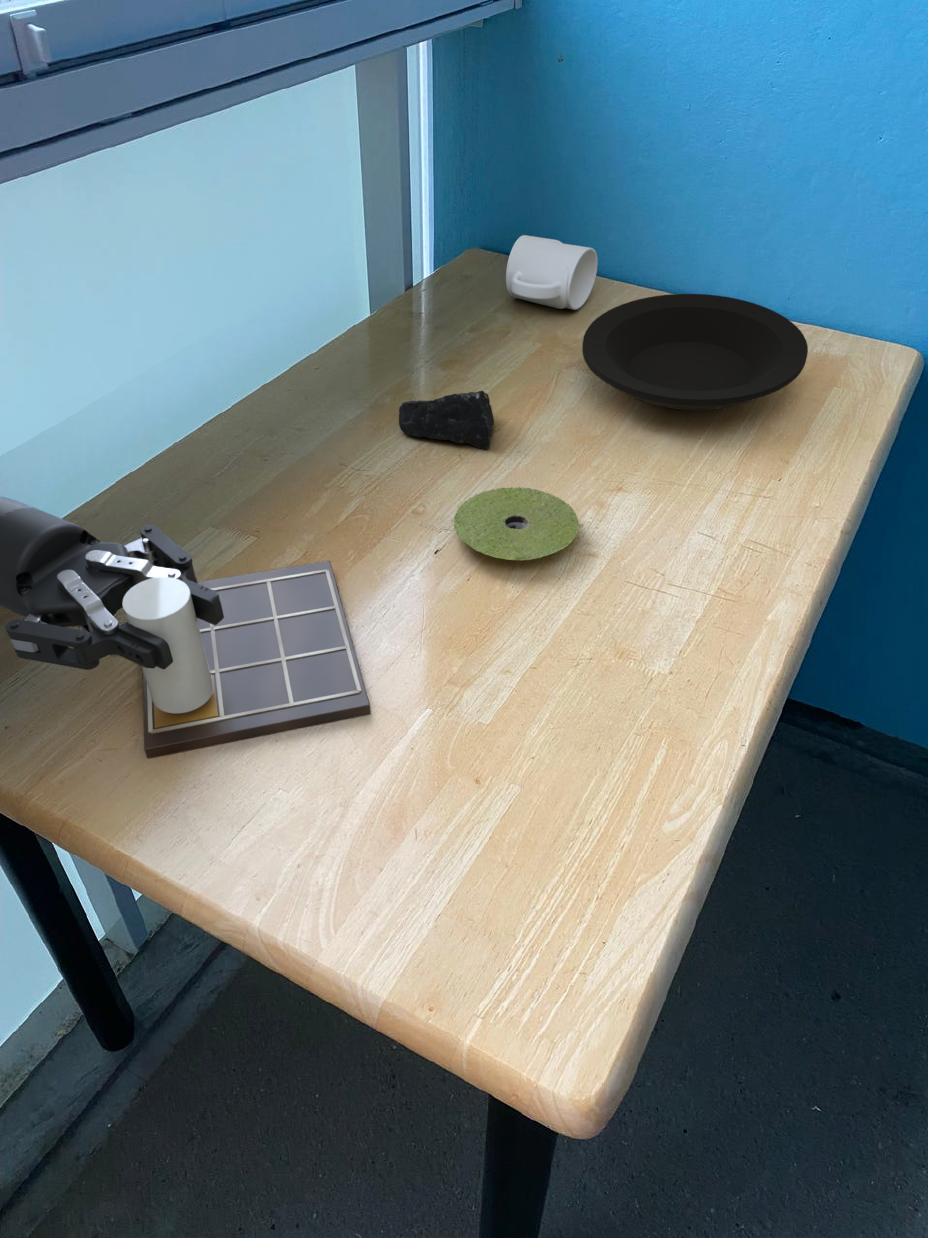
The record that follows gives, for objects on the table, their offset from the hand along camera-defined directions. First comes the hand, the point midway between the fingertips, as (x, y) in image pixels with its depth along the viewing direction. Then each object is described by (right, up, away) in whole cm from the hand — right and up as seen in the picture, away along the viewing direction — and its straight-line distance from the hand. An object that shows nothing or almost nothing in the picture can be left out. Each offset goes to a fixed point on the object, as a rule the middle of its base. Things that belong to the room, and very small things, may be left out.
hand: (193, 632), depth 62 cm
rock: (+17, +21, +37) cm, 46 cm away
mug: (+29, +43, +63) cm, 81 cm away
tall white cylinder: (-2, -4, +6) cm, 8 cm away
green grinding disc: (+23, +8, +23) cm, 33 cm away
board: (+1, -2, +11) cm, 12 cm away
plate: (+44, +27, +45) cm, 69 cm away
